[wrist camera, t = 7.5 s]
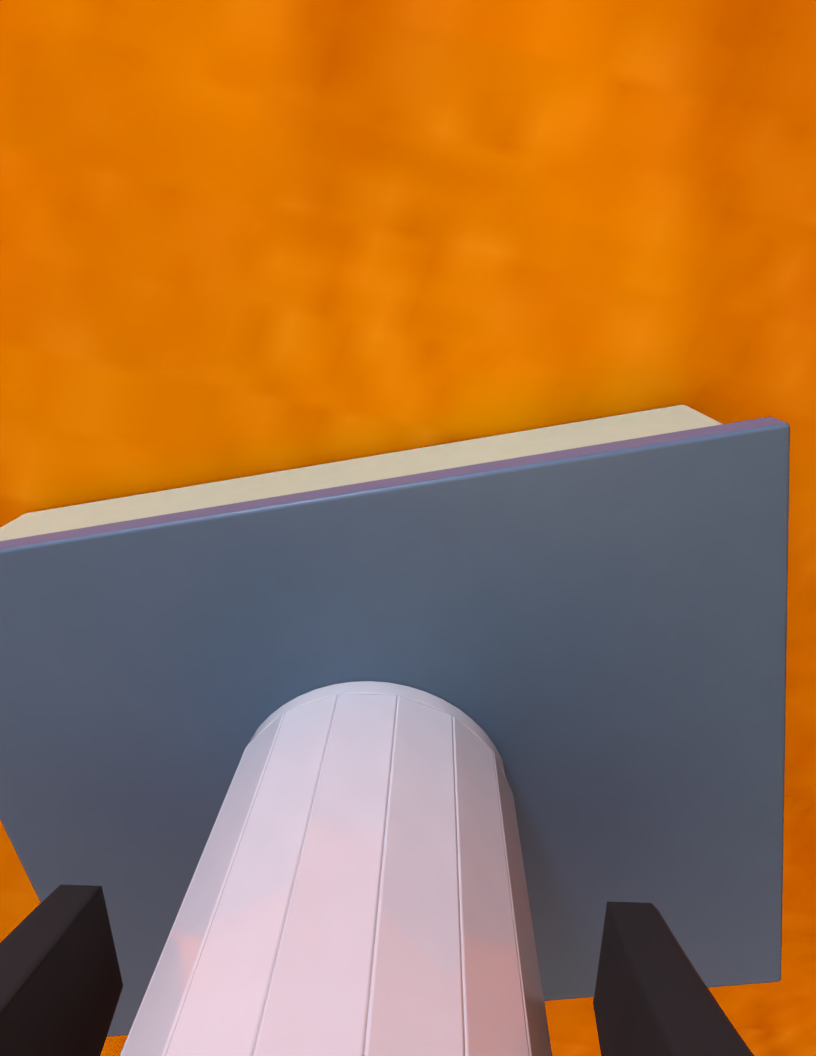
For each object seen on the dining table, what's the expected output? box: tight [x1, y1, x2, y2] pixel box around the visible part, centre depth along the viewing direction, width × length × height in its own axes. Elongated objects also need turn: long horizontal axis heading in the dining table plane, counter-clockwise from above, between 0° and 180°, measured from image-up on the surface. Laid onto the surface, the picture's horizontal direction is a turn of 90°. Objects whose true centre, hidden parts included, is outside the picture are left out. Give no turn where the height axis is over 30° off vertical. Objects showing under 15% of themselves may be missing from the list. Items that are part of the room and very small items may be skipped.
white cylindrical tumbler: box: [120, 681, 552, 1056], centre depth 9 cm, size 5×5×6 cm
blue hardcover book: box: [0, 405, 790, 1037], centre depth 14 cm, size 15×12×4 cm
